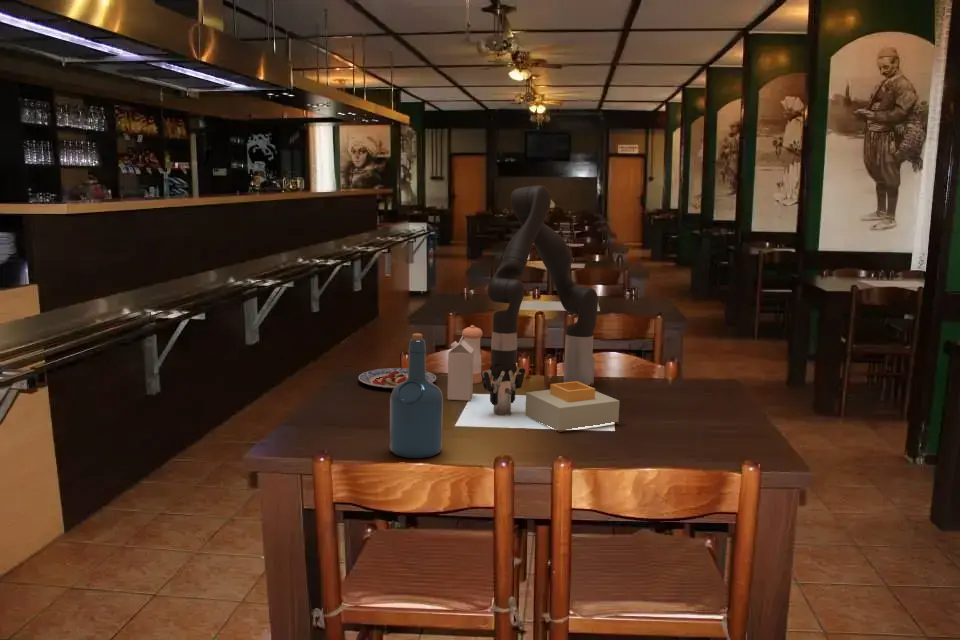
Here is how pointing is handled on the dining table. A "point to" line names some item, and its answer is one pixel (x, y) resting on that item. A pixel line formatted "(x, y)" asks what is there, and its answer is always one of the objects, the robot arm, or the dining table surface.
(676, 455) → the dining table surface
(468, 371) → the milk carton
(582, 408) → the slab with orange tray
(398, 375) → the ceramic plate
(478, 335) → the pepper shaker
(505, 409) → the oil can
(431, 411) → the wine bottle
